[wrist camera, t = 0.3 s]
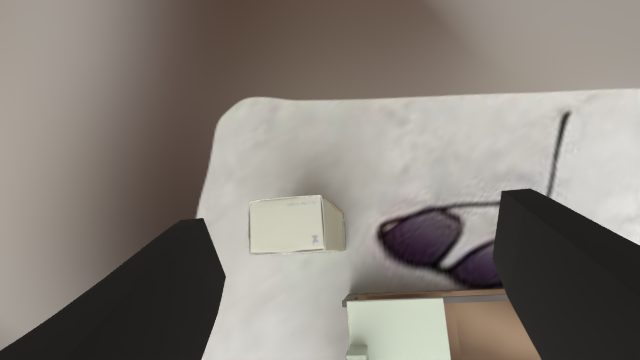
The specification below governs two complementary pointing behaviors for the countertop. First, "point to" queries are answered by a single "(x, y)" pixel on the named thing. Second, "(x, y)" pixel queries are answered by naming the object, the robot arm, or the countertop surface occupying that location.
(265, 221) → the skincare box
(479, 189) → the countertop surface
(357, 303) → the lid
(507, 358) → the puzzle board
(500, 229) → the robot arm
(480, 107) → the countertop surface
